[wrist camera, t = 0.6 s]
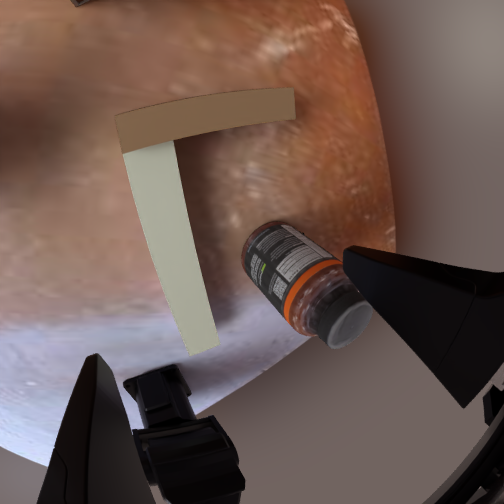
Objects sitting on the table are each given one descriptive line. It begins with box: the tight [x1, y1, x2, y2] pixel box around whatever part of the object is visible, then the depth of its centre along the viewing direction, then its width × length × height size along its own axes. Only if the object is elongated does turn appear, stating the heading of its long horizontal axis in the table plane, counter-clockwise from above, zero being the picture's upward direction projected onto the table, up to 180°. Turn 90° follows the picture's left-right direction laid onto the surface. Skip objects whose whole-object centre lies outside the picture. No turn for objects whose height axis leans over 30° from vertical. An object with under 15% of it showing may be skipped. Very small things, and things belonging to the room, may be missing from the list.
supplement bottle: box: [241, 222, 373, 349], centre depth 21 cm, size 6×6×11 cm
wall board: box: [115, 87, 296, 356], centre depth 20 cm, size 20×10×5 cm, turn 6°
